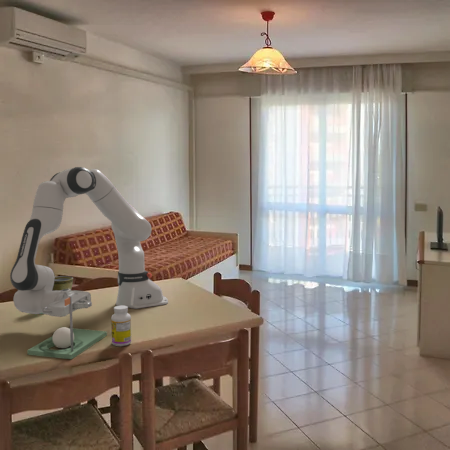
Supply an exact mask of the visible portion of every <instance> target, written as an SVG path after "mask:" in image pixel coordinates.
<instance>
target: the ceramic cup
mask: <svg viewBox="0 0 450 450" xmlns="http://www.w3.org/2000/svg"><path fill="white" fill-rule="evenodd" d="M73 281H74V277H72V276H69V275H59V276H55V282H54V286H53V290H52V291H55V290H64V289H71V290H72V287H73Z"/></svg>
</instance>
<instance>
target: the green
mask: <svg viewBox="0 0 450 450" xmlns="http://www.w3.org/2000/svg"><path fill="white" fill-rule="evenodd" d="M67 305H69V310H70V314H69V327H68V328H69V329H70V338H71V345H70V347H67V348H64V349H51V348H53V347H56V346H55V345H54V343H53V339H52V338H53V335H52V336H50V337H48V338H46V339H44V340H43V341H41V342H39V343H37V344H36V345H34V346H32V347H31V348H29V349H27V355H28V356H38V357H45V358H47V357H48V358H56V359H57V358H58V359H67V360H73V359H74V358H76V357H77V356H79V355H80V354H82V353H83V352H84V351H86V350H88V349H90V348H91V347H92V346H94V345H95V344H97V343H98V342H99V341H101V340H102V339H104V338H105V337H107V336H108V331H106V330H96V329H95V330H94V329H84V328H83V329H82V328H74V327H73V321H74V320H73V312H72V296H69V298H67V299H65V306H67ZM73 333H74V341H73ZM96 342H97V343H96Z"/></svg>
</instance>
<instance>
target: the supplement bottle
mask: <svg viewBox="0 0 450 450" xmlns="http://www.w3.org/2000/svg"><path fill="white" fill-rule="evenodd" d="M128 309H129V307H127V306H123V305H121V306H118V305H116V306H114V307H113V312H114V314H112V315H111V318H110V322H111V323H110V324H111V344H112V345H113V346H116V347H124V346H128V345H130V344H132V316H131V314H130V313H128V311H129V310H128Z"/></svg>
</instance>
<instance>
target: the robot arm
mask: <svg viewBox="0 0 450 450" xmlns="http://www.w3.org/2000/svg"><path fill="white" fill-rule="evenodd" d="M83 194H84V195H87V197H88V198H89V199H90V200H91V202H93V204H94V206H96V207H97V209H98V210H99V211H100V213H102V215H103V216H104V217H105V218H107V219H108V220H109V221H110V222H111V223H110V227H111V230H112V232H113V235H114V240H115V244H116V250H117V254H118V271H117V285H118V290H117V291H118V292H117V298H116V302H115V305H116V306H121V305H123V306H127V307H128V308H131V309H135V310H136V309H143V308H149V307H150V308H151V307H157V306H162V305H168V304H169V300H168V298H167V297H166V296H164V295H163V290H162V287H160V286H159V284H157V283H156V282H154V281H153V280H152V279H151V278H152V277H153V274H152V273H151V272H149V271H148V270H147V271H146V270H145V267H146V265H145V264H146V263H145V251H144V250H143V247H142V244H141V242H143V241H146V240H147V239H149V238H150V236H151V234H152V230H153V229H152V225H151V223H150V221H148V220H147V219H146V218H145V217H144V216H143V215H142V214H141V212H139V211H138V210H137V209H136V208H135V207H134V206H133V205H132V204H131V203H130V202H128V200H127V199H126V198H125V197H124V196H123V195H122V193H121V192H120V191H119V190H118V189H117V187H116V186H115V184H113V182H112V181H111V180H110V179H109V178H108V177H107V176H106V175H105V174H104V173H103V172H102V171H101V170H99V169H97V168H92V169H88V168H85V167H82V166H75V167H72V168H71V167H70V168H67V169H64V170H61V171H59V172H57V173H55V174H54V175H52V176H51V178H50V179H49V180H47V181H43V182H41V183H39V185H37V188H36V191H35V196H34V199H33V204H32V210H31V214H30V218H29V220H28V221H27V223H26V225H25V227H24V230H23V232H22V237H21V240H20V245H19V249H18V252H17V257H16V259H15V262H14V264H13V266H12V268H11V271H10V272H9V273H10V275H9V278H10V283H11V284H12V286H13V288H15V289H16V290H17V291H15V293H14V294H13V295H14V296H13V300H12V301H13V304H14V307H15V308H16V310H17V311H19V312H22V313H26V314H33V315H39V314H40V313H41V314H43V315H48V316H51V317H58V318H63V317H67V316H68V315H70V310H69V305H67V306H65V299H67V298H69V296H72V313H73V312H75V311H76V310H81V309H89V308H90V307H92V306H93V302H92V295H91V293H90V292H89V291H86V290H85V291H84V290H72V288H71V289H64V290H55V291H52V290H53V286H54V282H55V277H56V274H55V272H54V270H53V269H52V268H51V267H50V266H45V265H41V264H36V257H37V254H38V249H39V245H40V244H39V243H40V241H41V240H42V238H44V236H46V235H49V234H51V233H54V232H55V231H57V230H58V229H59V227H60V226H61V224H62V221H63V220H62V219H63V214H64V213H63V212H64V203H65V202H66V199H67V198H75V197H77V196H81V195H83Z"/></svg>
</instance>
